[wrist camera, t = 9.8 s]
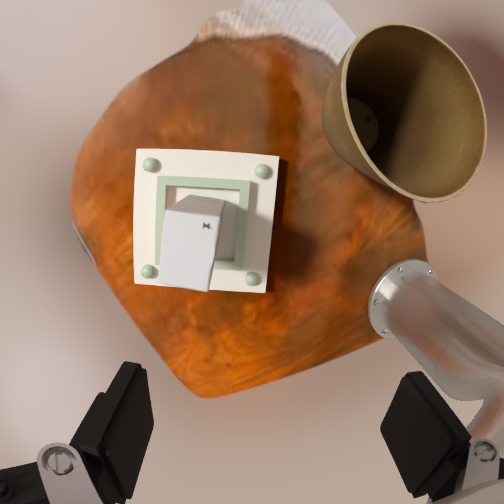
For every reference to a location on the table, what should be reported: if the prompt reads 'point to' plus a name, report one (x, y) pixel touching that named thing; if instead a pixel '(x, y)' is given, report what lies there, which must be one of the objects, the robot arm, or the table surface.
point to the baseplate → (214, 186)
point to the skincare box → (190, 242)
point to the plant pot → (406, 112)
